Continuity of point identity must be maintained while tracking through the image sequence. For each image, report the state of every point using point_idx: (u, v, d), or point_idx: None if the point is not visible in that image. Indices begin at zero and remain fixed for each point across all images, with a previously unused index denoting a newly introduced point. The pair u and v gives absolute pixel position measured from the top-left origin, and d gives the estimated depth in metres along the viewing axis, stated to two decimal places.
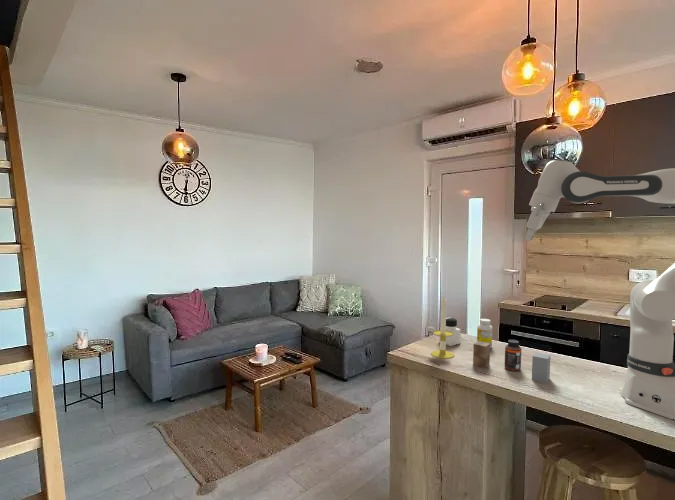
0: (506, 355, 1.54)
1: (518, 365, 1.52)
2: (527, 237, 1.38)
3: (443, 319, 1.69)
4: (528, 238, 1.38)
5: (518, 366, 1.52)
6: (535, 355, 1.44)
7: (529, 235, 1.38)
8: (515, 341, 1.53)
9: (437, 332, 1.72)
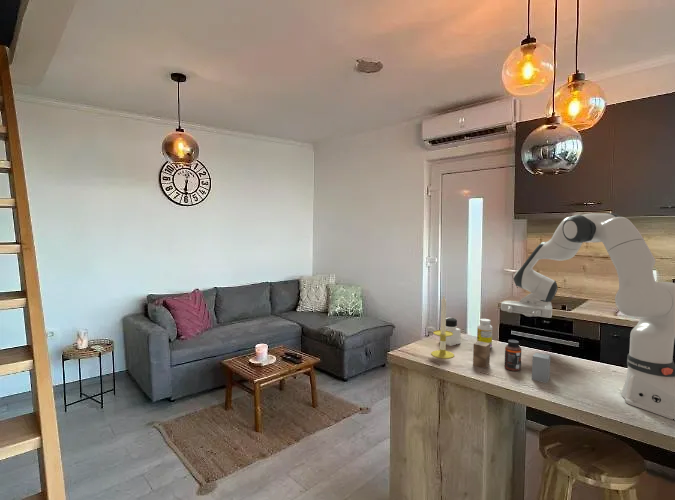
0: (506, 355, 1.54)
1: (518, 365, 1.52)
2: None
3: (443, 319, 1.69)
4: None
5: (518, 366, 1.52)
6: (535, 355, 1.44)
7: None
8: (515, 341, 1.53)
9: (437, 332, 1.72)
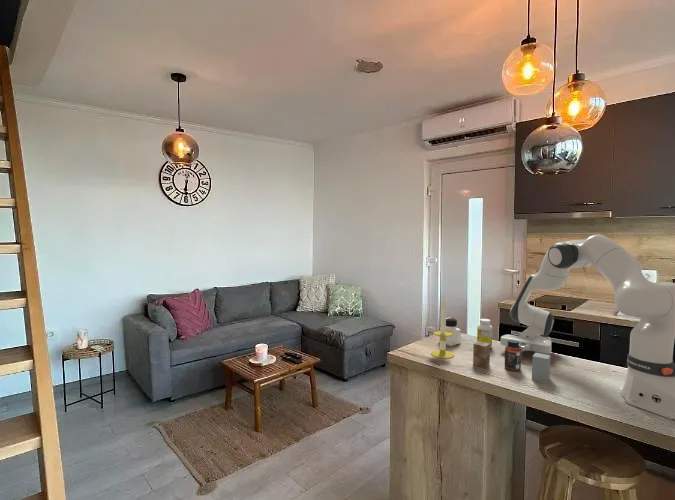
0: (506, 355, 1.54)
1: (518, 365, 1.52)
2: None
3: (443, 319, 1.69)
4: None
5: (518, 366, 1.52)
6: (535, 355, 1.44)
7: None
8: (515, 341, 1.53)
9: (437, 332, 1.72)
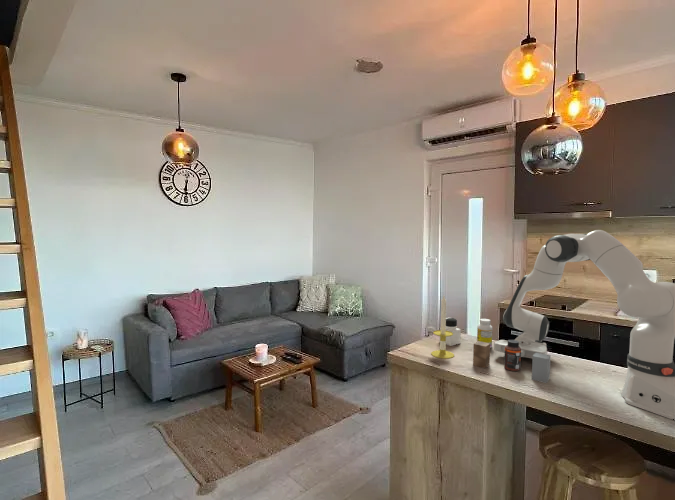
0: (506, 355, 1.54)
1: (518, 365, 1.52)
2: None
3: (443, 319, 1.69)
4: None
5: (518, 366, 1.52)
6: (535, 355, 1.44)
7: None
8: (515, 341, 1.53)
9: (437, 332, 1.72)
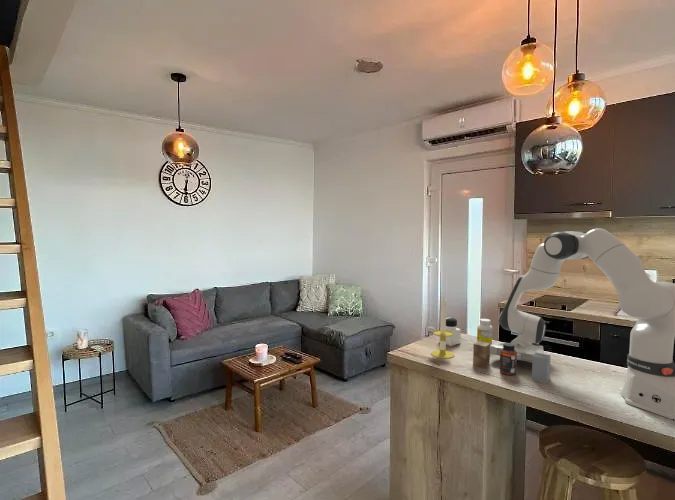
0: (501, 358, 1.50)
1: (513, 369, 1.48)
2: None
3: (443, 319, 1.69)
4: None
5: (513, 370, 1.48)
6: (535, 355, 1.44)
7: None
8: (510, 344, 1.49)
9: (437, 332, 1.72)
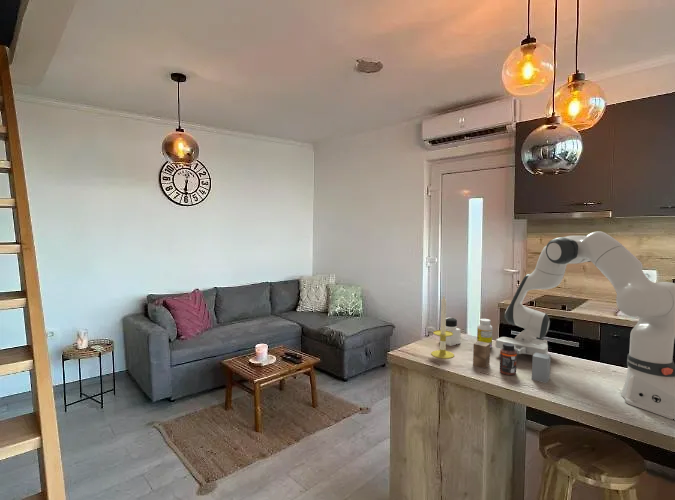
0: (501, 358, 1.50)
1: (513, 369, 1.48)
2: None
3: (443, 319, 1.69)
4: None
5: (513, 370, 1.48)
6: (535, 355, 1.44)
7: None
8: (510, 344, 1.49)
9: (437, 332, 1.72)
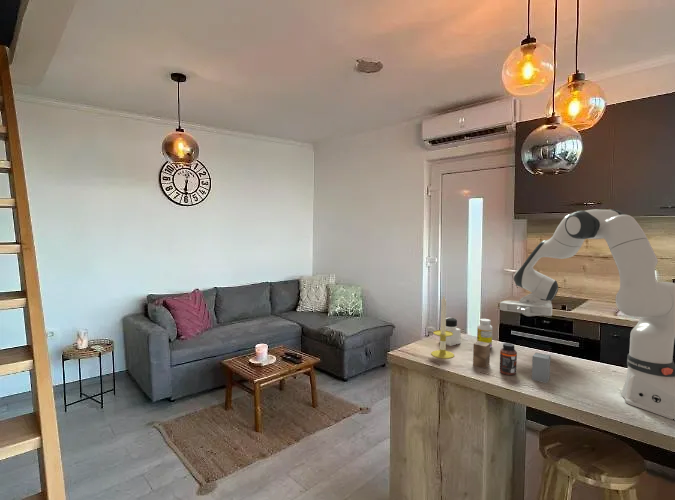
0: (501, 358, 1.50)
1: (513, 369, 1.48)
2: None
3: (443, 319, 1.69)
4: None
5: (513, 370, 1.48)
6: (535, 355, 1.44)
7: (518, 309, 1.62)
8: (510, 344, 1.49)
9: (437, 332, 1.72)
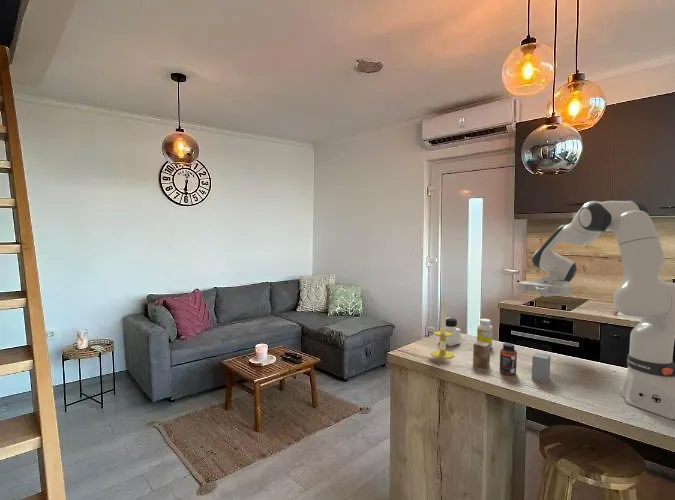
0: (501, 358, 1.50)
1: (513, 369, 1.48)
2: None
3: (443, 319, 1.69)
4: (536, 289, 1.63)
5: (513, 370, 1.48)
6: (535, 355, 1.44)
7: (536, 289, 1.64)
8: (510, 344, 1.49)
9: (437, 332, 1.72)
